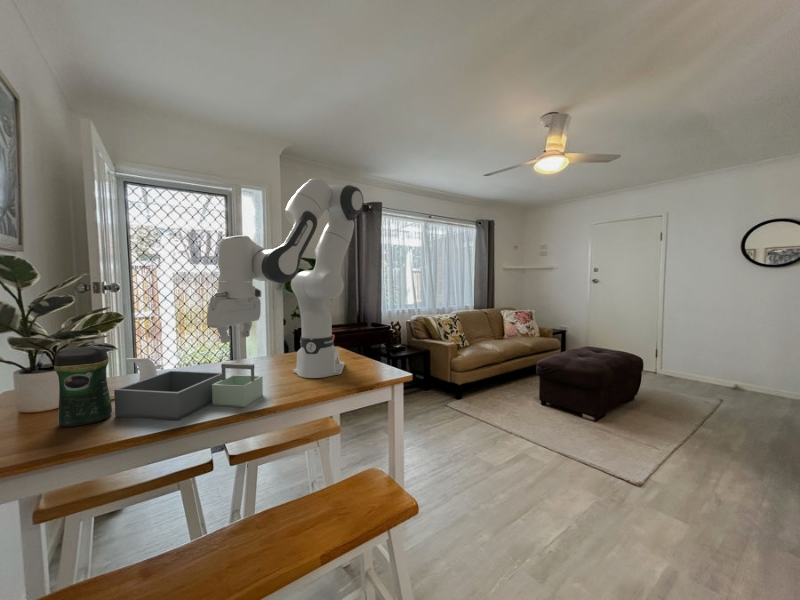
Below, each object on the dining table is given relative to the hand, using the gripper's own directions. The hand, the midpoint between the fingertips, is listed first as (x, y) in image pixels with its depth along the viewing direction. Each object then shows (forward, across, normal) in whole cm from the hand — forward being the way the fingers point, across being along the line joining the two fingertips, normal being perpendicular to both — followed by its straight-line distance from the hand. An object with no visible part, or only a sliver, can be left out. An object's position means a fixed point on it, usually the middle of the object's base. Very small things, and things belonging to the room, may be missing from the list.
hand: (235, 339), depth 96 cm
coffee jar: (+19, -17, +29) cm, 39 cm away
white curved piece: (+19, +1, +31) cm, 36 cm away
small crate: (+18, +1, 0) cm, 18 cm away
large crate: (+18, -5, +15) cm, 24 cm away
